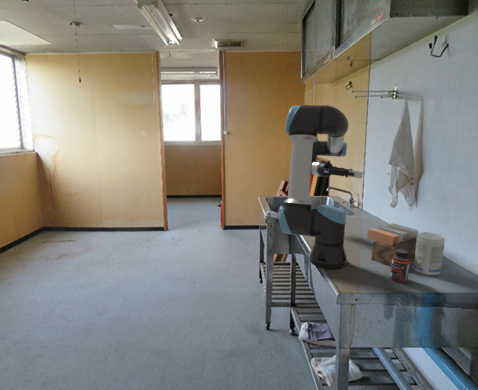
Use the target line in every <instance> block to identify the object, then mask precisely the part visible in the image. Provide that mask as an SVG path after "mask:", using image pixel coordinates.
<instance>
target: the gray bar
mask: <svg viewBox="0 0 478 390" xmlns="http://www.w3.org/2000/svg"><path fill="white" fill-rule="evenodd" d="M377 229H380V230H383V231H386V232H390V233H393V234H396V235H399V242H400V241H403V240H407V239H408V237H409V233H408V232H405V231H401V230H397V229H394V228H390V227H388V225H380V226H377Z"/></svg>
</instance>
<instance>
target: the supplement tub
mask: <svg viewBox="0 0 478 390" xmlns="http://www.w3.org/2000/svg"><path fill="white" fill-rule="evenodd" d="M445 242H446V241H445V237H444V236H443V235H441V234H439V233H434V232H426V231H424V232H418V236H417V241H416V250H415V259H414V261H413V269H414V271H416V272H418V273H420V274H423V275H426V276H438V275H440V274H441V273H442V265H443V257H444V250H445Z"/></svg>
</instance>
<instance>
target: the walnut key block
mask: <svg viewBox="0 0 478 390" xmlns="http://www.w3.org/2000/svg"><path fill="white" fill-rule="evenodd" d="M416 241H417V237H414V238H410V239H407V240H403V241H400V242H396V243H395V245H394V246H390V245H387V244H384V243H381V242H378V241H375V240H373V242H372V243H373V244H372V251H371V260H372V261H374V262H376V263H379V264H381V265H385V266H386V267H390V268H391V264H392V257H393V255H395V254H396V250H397V249H402V250H406V251H408V257H409V258H410V263H414V259H415V250H416Z"/></svg>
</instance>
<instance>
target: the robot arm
mask: <svg viewBox="0 0 478 390" xmlns="http://www.w3.org/2000/svg"><path fill="white" fill-rule="evenodd" d="M348 120H349V119H348V118H347V117H346V115H345V113H343V112H342V111H341V109H338V108H336V107H335V106H331V105H328V104H327V105H316V104H315V105H313V104H310V105H309V104H307V105H306V104H301V105H293V106H291V107H290V108H289V111H288V113H287V116H286V122H285V133H286V134H288V138H289V139H290V141H291V142H292V143H291V154H290V155H291V156H290V167H289V178H288V181H289V182H288V192H287V199H284V201H283V205H280V206H279V208H278V209H279V212H278V213H279V214H278V220H279V227H280V231H281V232H282V233H283V234H286V235H287V234H288V235H291V236H294V235H295V236H304V237H313V238H314V243H313V246H312V248H311V250H310V253H309V257H308V261H309V263H310V264H312V265H313V266H315V267H318V268H322V269H329V270H337V269H343V268H345V267H346V266H347V263H348V261H347V260H348V259H347V255H346V250H345V245H344V244H345V243H344V242H345V231H346V230H345V229H346V225H347V221H346V217H347V214H346V212H345V211H344V210H343V209H341V208H339V207H336V206H333V205H329V204H319V205H317V206H316V208H312V206H313V203H312V202H311V201H310V199H309V197H310V187H311V186H310V185H311V175H313V176H316V178H319V177H323V178H329V177H331V176H339V177H344V176H345V178H349V177H350V178H356V179H362V178H363V172H362V171H357V170H353V169H352V168H345V167H338V166H334V165H333V164H332V163H330V162H328V161H322V160H321V161H320V160H318V156H321V157H322V156H323V157H339V158H340V157H346V155H347V148H348V143H347V142H346V141H345V135H346V133H347V132H348V130H349V121H348ZM318 135H327V137H326V138H327V140H319V137H318Z"/></svg>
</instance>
